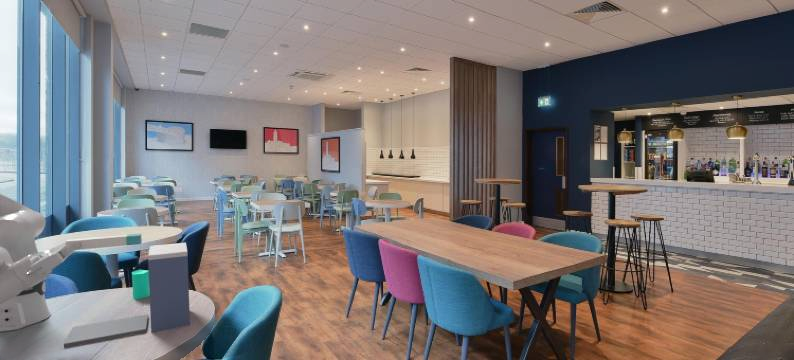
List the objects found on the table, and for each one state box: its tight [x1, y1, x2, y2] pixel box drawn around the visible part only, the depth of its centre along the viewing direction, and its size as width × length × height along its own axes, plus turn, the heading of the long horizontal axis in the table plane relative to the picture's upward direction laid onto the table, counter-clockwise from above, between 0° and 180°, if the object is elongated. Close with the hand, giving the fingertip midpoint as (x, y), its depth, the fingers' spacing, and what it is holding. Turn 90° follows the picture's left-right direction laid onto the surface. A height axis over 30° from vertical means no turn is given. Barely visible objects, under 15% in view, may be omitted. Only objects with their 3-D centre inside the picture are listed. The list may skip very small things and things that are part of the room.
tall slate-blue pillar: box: [147, 242, 191, 333], centre depth 143 cm, size 12×16×26 cm
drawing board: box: [63, 314, 149, 348], centre depth 135 cm, size 22×14×1 cm, turn 119°
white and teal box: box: [64, 233, 143, 251], centre depth 133 cm, size 20×4×3 cm, turn 119°
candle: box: [131, 269, 150, 300], centre depth 168 cm, size 6×6×12 cm
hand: (81, 242), depth 130 cm, fingers closed on white and teal box, 3 cm apart
